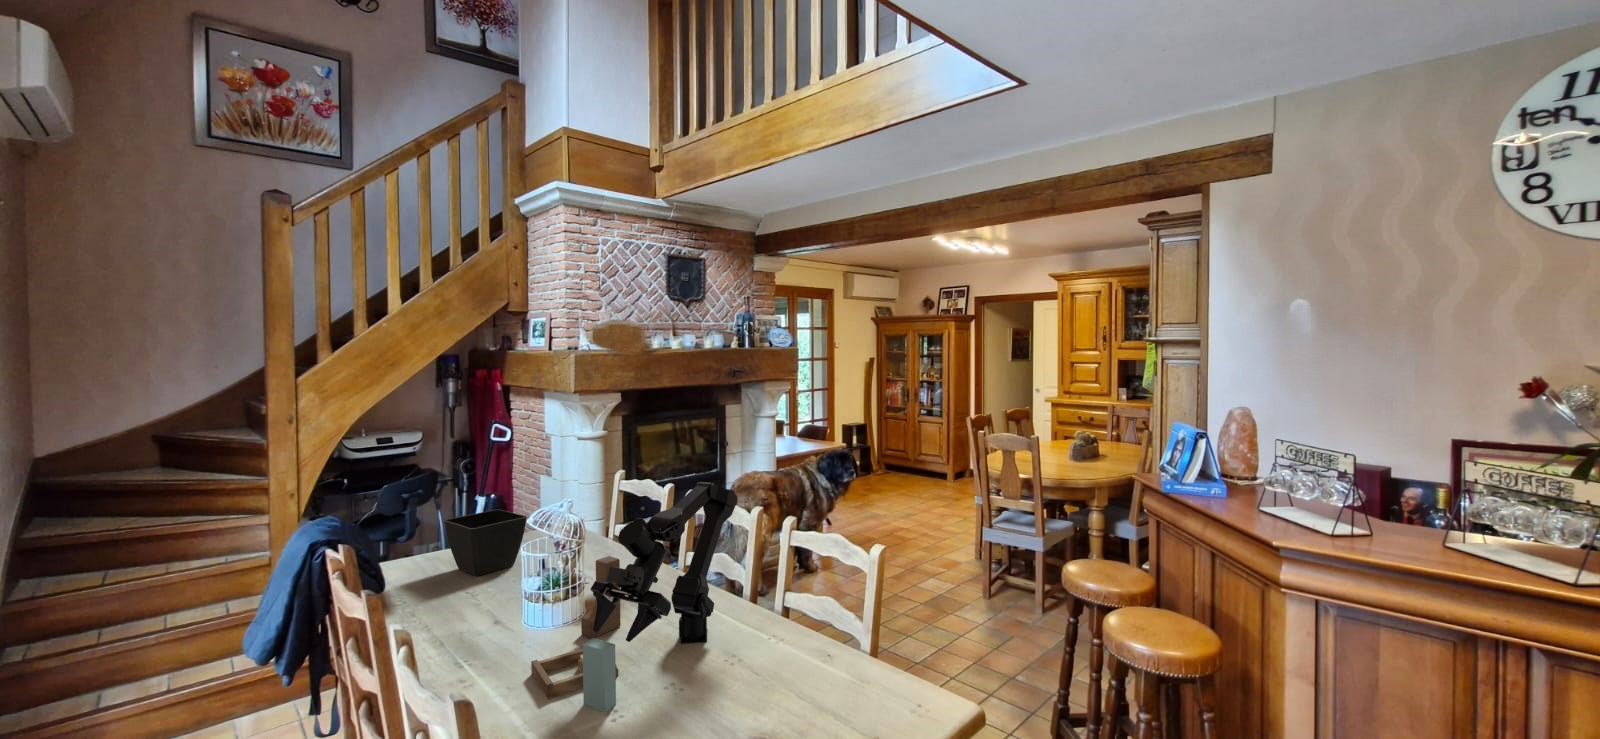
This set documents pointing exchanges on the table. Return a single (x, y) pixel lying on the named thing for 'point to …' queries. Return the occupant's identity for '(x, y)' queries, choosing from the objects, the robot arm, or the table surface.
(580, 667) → the offcut stack
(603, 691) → the tall grey-green pillar
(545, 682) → the rack
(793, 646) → the table surface
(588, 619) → the wooden block
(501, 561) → the flower pot
